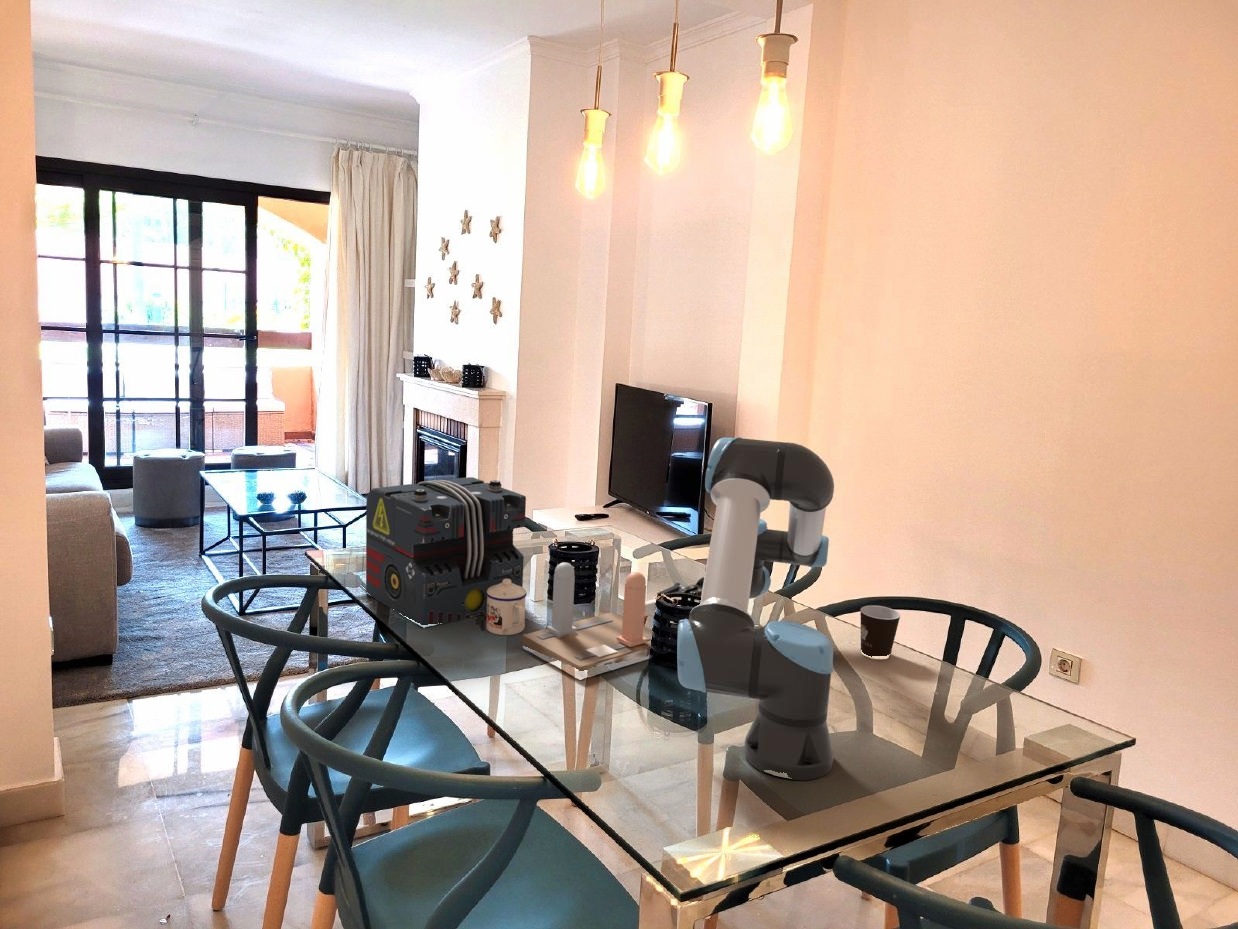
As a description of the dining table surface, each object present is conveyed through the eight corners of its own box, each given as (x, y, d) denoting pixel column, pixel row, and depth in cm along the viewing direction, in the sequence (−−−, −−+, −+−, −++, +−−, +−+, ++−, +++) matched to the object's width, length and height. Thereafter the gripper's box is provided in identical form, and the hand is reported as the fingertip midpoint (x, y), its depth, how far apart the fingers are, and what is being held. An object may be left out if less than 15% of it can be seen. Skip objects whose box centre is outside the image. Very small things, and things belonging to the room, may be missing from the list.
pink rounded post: (633, 635, 203) (638, 567, 200) (647, 642, 200) (652, 573, 197) (616, 640, 200) (620, 571, 197) (630, 647, 197) (634, 577, 194)
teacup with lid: (477, 625, 213) (479, 577, 210) (512, 618, 218) (513, 571, 216) (504, 643, 203) (506, 592, 201) (539, 635, 209) (541, 586, 207)
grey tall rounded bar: (564, 625, 207) (567, 558, 204) (576, 631, 204) (580, 563, 200) (546, 629, 203) (549, 562, 200) (558, 636, 200) (562, 567, 197)
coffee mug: (896, 664, 204) (901, 621, 202) (856, 659, 206) (861, 616, 204) (892, 645, 216) (897, 604, 214) (854, 640, 217) (858, 599, 215)
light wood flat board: (612, 623, 218) (613, 610, 218) (673, 653, 203) (674, 639, 203) (522, 648, 201) (522, 633, 201) (581, 681, 186) (582, 666, 186)
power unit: (365, 594, 229) (365, 475, 223) (461, 575, 247) (464, 464, 241) (422, 629, 209) (424, 499, 203) (523, 606, 227) (527, 486, 221)
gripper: (737, 614, 212) (662, 635, 197) (696, 597, 222) (622, 616, 206) (740, 582, 211) (665, 601, 195) (698, 567, 220) (624, 584, 205)
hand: (643, 609), depth 201 cm, fingers closed
